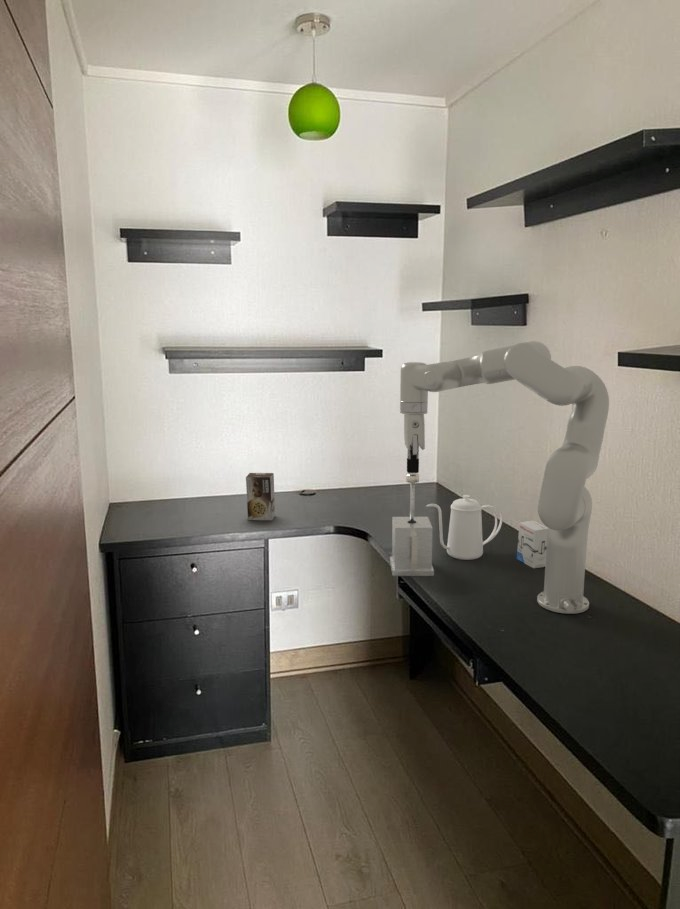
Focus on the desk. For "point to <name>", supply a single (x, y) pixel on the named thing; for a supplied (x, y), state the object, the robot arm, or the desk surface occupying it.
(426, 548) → the grey cube on plinth
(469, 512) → the coffeepot
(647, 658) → the desk surface
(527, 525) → the ink box
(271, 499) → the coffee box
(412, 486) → the plunger
